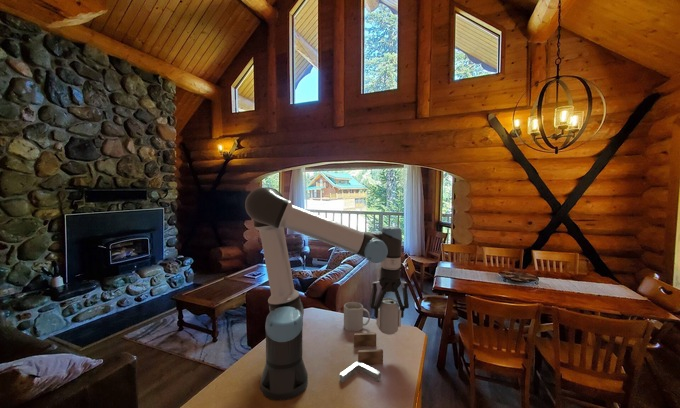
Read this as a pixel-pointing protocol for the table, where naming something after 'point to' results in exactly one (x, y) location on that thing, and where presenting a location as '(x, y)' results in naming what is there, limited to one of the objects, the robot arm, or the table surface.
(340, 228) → the robot arm
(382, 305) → the can
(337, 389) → the table surface
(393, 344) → the table surface
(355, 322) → the mug
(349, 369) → the v block
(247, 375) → the table surface
